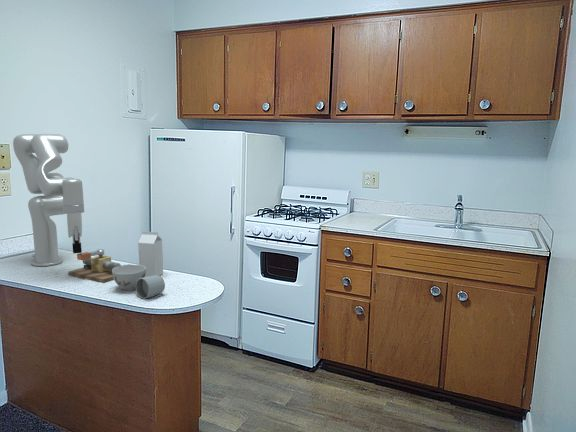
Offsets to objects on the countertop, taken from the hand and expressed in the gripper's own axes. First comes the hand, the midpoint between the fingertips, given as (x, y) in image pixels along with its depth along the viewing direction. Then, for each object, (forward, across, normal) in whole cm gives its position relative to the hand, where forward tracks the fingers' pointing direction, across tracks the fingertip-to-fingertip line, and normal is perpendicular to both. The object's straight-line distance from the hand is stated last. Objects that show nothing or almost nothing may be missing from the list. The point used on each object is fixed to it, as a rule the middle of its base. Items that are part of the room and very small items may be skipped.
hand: (77, 252), depth 177 cm
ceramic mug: (+12, +35, +22) cm, 43 cm away
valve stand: (+10, -1, +9) cm, 14 cm away
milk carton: (+11, +11, +28) cm, 32 cm away
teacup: (+11, +23, +18) cm, 32 cm away
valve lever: (+2, +2, +5) cm, 6 cm away
